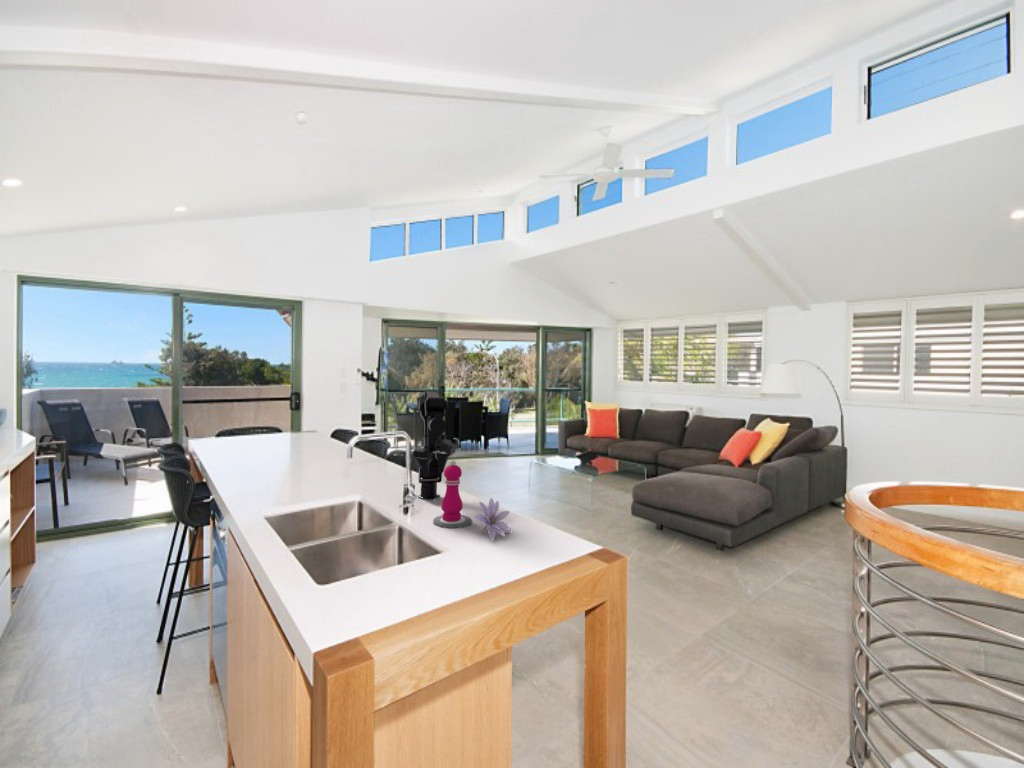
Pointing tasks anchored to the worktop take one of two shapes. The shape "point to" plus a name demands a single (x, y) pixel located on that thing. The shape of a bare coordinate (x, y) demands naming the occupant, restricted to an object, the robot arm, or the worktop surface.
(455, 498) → the pepper mill
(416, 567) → the worktop surface
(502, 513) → the water lily
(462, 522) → the mat
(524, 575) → the worktop surface
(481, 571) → the worktop surface
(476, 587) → the worktop surface
